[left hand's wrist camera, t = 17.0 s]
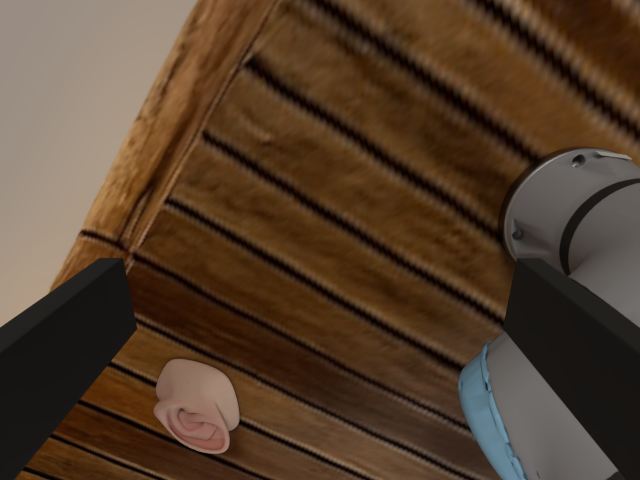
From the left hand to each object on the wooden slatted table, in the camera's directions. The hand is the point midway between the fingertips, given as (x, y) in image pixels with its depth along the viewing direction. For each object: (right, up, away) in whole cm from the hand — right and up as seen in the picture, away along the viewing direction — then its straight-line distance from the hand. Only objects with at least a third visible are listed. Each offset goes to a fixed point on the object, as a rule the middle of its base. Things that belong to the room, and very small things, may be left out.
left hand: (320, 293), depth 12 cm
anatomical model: (-17, -20, +39) cm, 47 cm away
